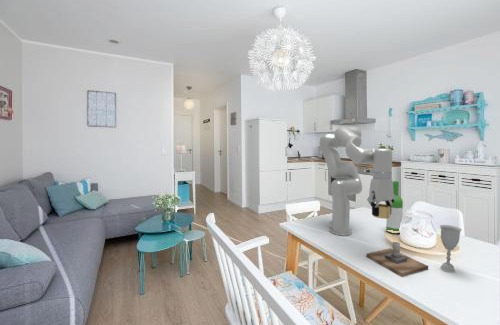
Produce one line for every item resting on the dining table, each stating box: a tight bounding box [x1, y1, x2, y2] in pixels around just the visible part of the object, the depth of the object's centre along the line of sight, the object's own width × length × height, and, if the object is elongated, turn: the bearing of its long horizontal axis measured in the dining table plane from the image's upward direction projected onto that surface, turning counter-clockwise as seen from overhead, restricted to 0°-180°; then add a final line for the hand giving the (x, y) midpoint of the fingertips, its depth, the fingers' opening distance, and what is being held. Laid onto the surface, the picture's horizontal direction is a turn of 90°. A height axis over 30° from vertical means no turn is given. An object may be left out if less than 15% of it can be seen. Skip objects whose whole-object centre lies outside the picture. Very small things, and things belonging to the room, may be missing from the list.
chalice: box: [439, 224, 463, 274], centre depth 101 cm, size 7×7×18 cm
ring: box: [372, 203, 390, 220], centre depth 112 cm, size 7×7×5 cm
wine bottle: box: [385, 180, 404, 231], centre depth 141 cm, size 8×8×30 cm
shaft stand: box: [365, 241, 429, 277], centre depth 108 cm, size 18×15×9 cm
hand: (381, 214), depth 112 cm, fingers closed on ring, 6 cm apart
